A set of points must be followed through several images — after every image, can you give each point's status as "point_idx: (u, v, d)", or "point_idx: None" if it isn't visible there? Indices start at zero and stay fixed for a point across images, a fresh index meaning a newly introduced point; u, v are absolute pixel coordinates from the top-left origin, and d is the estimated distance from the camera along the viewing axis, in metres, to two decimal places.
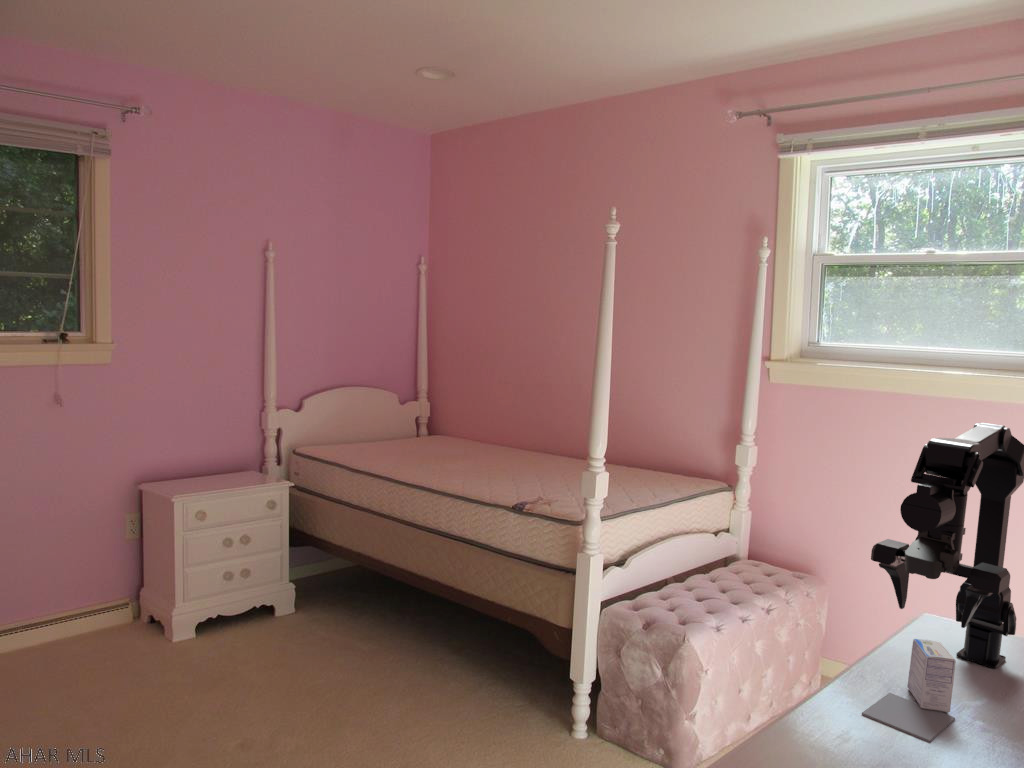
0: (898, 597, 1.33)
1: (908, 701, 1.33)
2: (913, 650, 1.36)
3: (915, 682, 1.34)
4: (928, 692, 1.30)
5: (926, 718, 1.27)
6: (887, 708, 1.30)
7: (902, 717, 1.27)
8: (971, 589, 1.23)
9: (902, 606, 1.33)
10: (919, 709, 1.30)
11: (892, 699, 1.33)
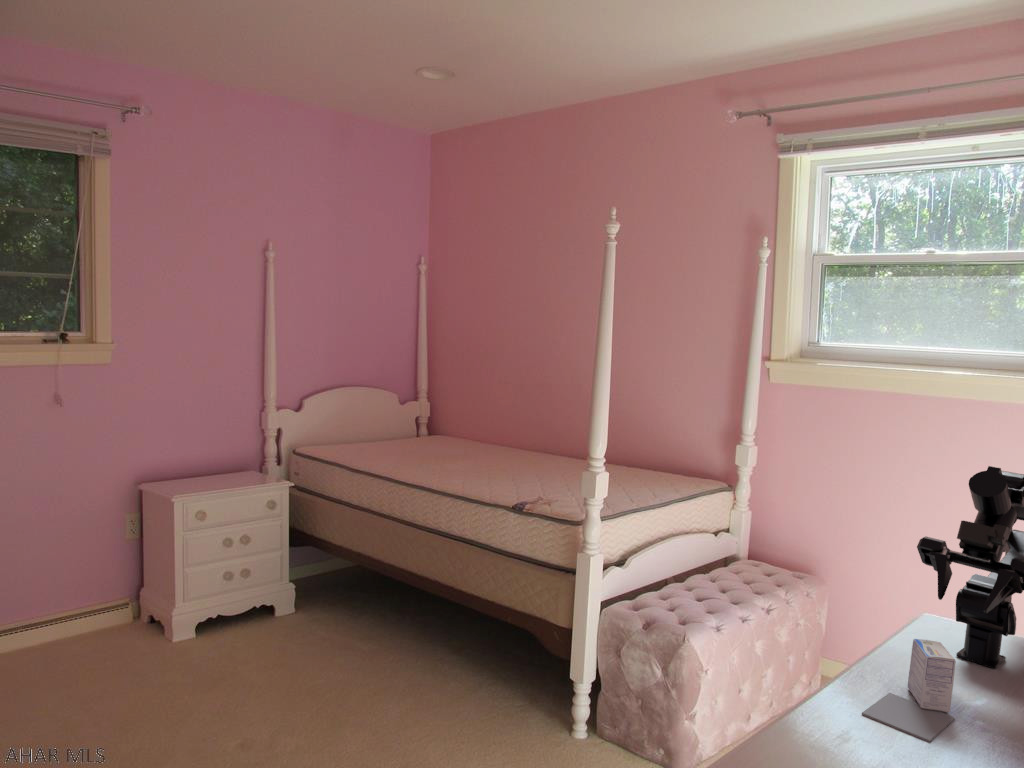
0: (939, 585, 1.43)
1: (908, 701, 1.33)
2: (913, 650, 1.36)
3: (915, 682, 1.34)
4: (928, 692, 1.30)
5: (926, 718, 1.27)
6: (887, 708, 1.30)
7: (902, 717, 1.27)
8: None
9: (941, 595, 1.42)
10: (919, 709, 1.30)
11: (892, 699, 1.33)
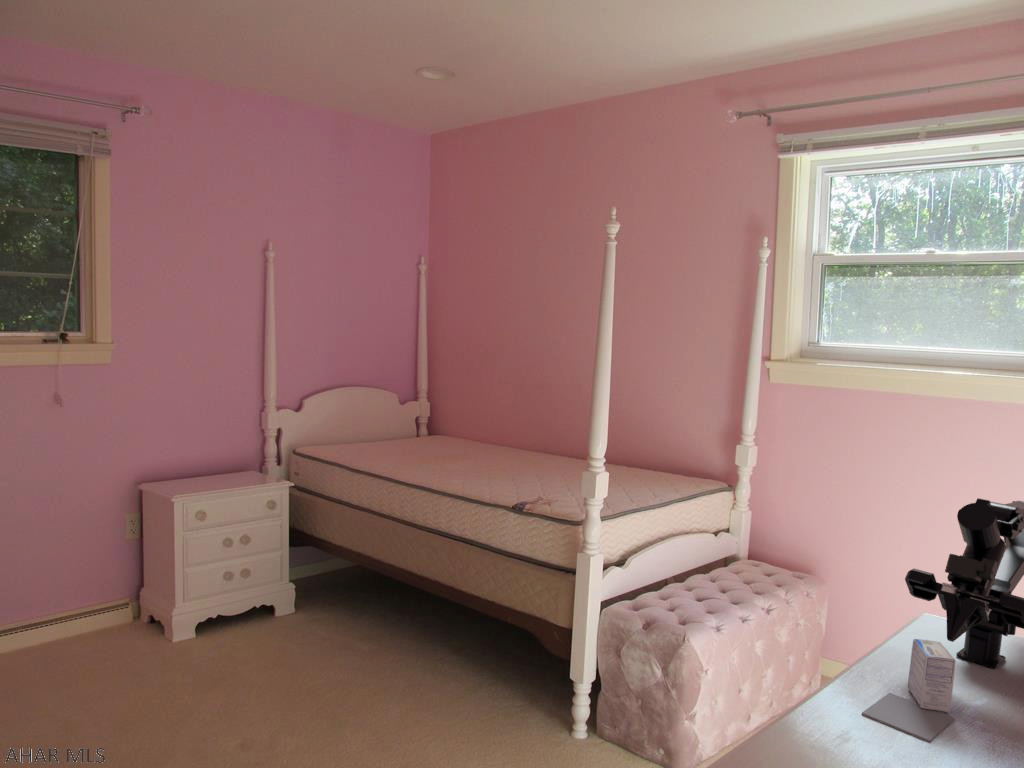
0: (948, 626, 1.38)
1: (908, 701, 1.33)
2: (913, 650, 1.36)
3: (915, 682, 1.34)
4: (928, 692, 1.30)
5: (926, 718, 1.27)
6: (887, 708, 1.30)
7: (902, 717, 1.27)
8: None
9: None
10: (919, 709, 1.30)
11: (892, 699, 1.33)
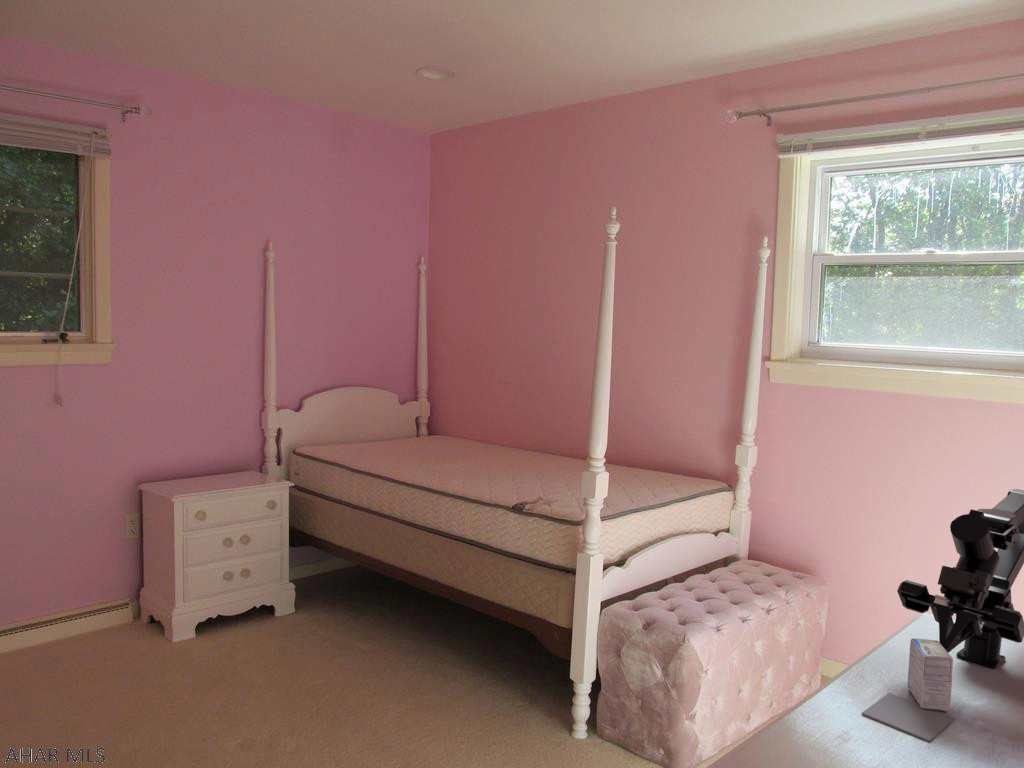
0: (941, 639, 1.36)
1: (908, 701, 1.33)
2: (911, 650, 1.36)
3: (914, 682, 1.34)
4: (927, 691, 1.30)
5: (926, 718, 1.27)
6: (887, 708, 1.30)
7: (902, 717, 1.27)
8: None
9: None
10: (919, 709, 1.30)
11: (892, 699, 1.33)
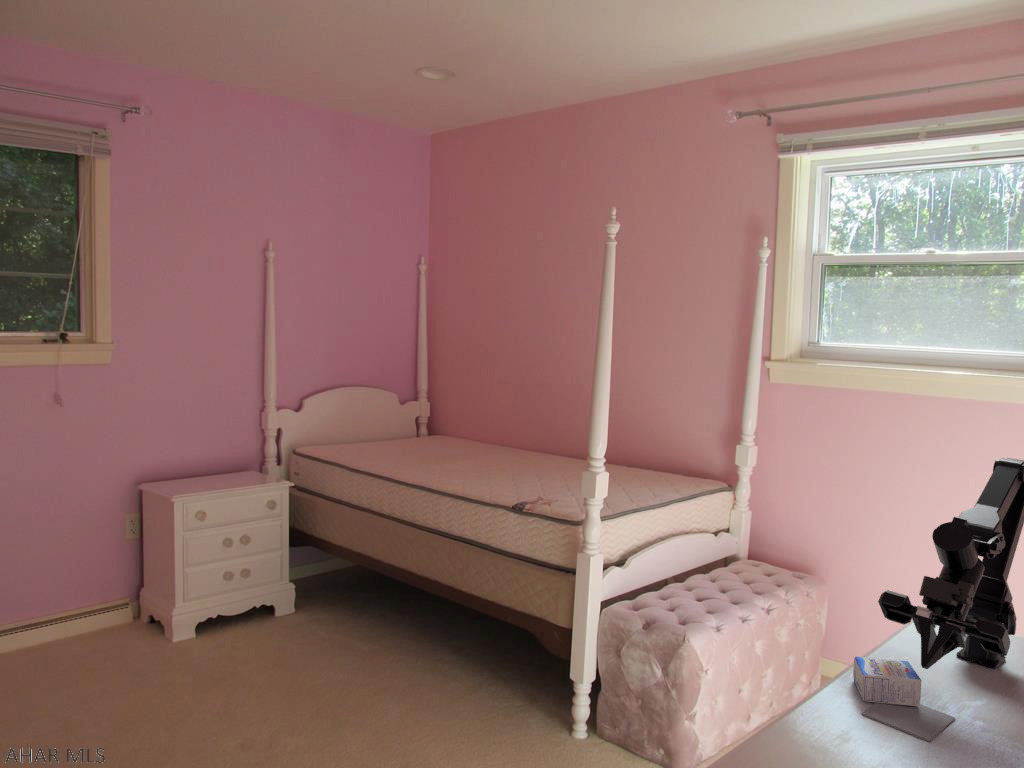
0: (923, 652, 1.31)
1: None
2: None
3: None
4: (901, 699, 1.31)
5: (926, 718, 1.27)
6: (887, 708, 1.30)
7: (902, 717, 1.27)
8: None
9: None
10: (919, 709, 1.30)
11: None
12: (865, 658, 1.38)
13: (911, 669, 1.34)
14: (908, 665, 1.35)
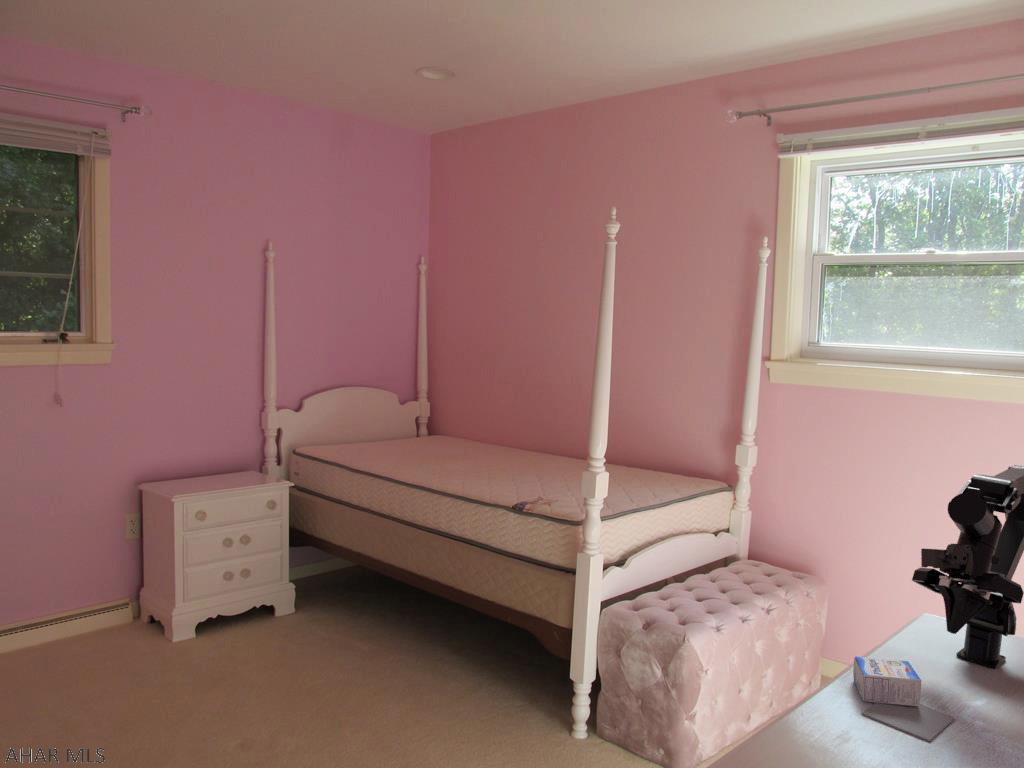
0: (947, 619, 1.39)
1: None
2: None
3: None
4: (901, 699, 1.31)
5: (926, 718, 1.27)
6: (887, 708, 1.30)
7: (902, 717, 1.27)
8: None
9: None
10: (919, 709, 1.30)
11: None
12: (865, 658, 1.38)
13: (911, 669, 1.34)
14: (908, 665, 1.35)
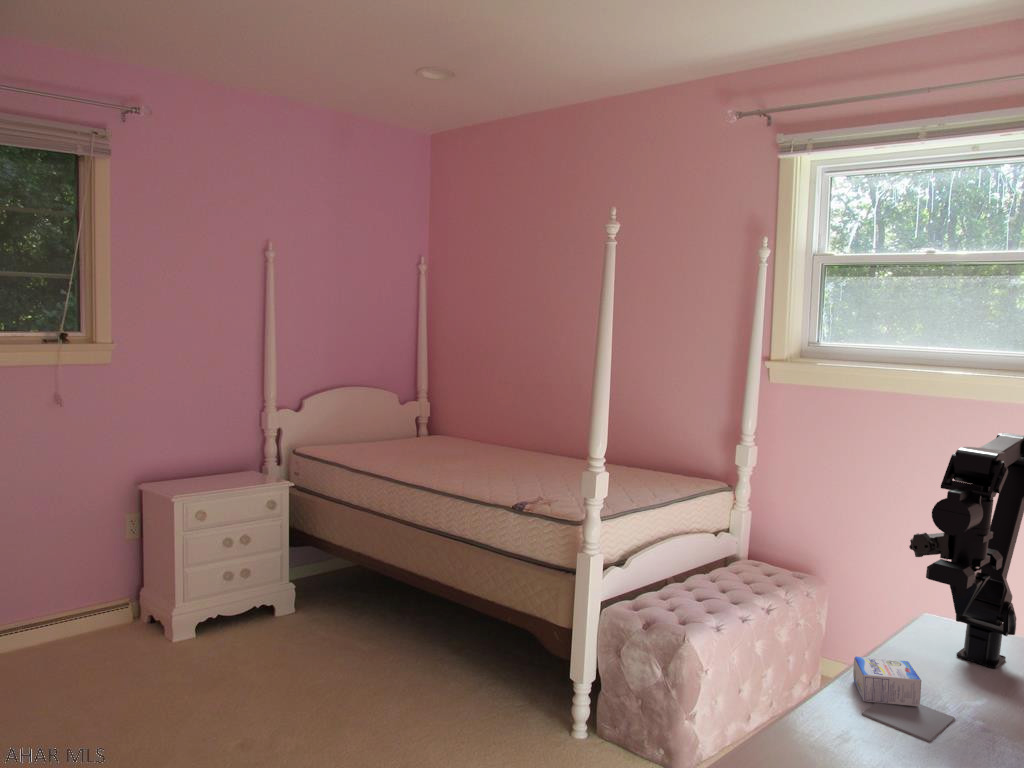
0: None
1: None
2: None
3: None
4: (901, 699, 1.31)
5: (926, 718, 1.27)
6: (887, 708, 1.30)
7: (902, 717, 1.27)
8: None
9: None
10: (919, 709, 1.30)
11: None
12: (865, 658, 1.38)
13: (911, 669, 1.34)
14: (908, 665, 1.35)
